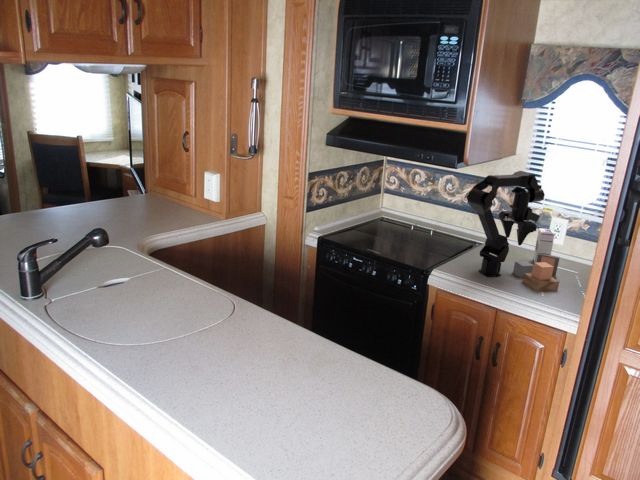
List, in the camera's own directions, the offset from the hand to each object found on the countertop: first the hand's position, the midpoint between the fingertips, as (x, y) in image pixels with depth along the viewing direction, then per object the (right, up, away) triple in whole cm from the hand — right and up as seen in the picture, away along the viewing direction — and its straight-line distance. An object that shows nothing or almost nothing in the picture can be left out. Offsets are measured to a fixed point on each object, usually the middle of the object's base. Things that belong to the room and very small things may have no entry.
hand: (513, 241), depth 221 cm
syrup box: (+16, -9, +14) cm, 23 cm away
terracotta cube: (+6, -14, -12) cm, 19 cm away
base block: (+6, -17, -11) cm, 21 cm away
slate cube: (+3, -13, -1) cm, 14 cm away
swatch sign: (+13, -13, +1) cm, 19 cm away
